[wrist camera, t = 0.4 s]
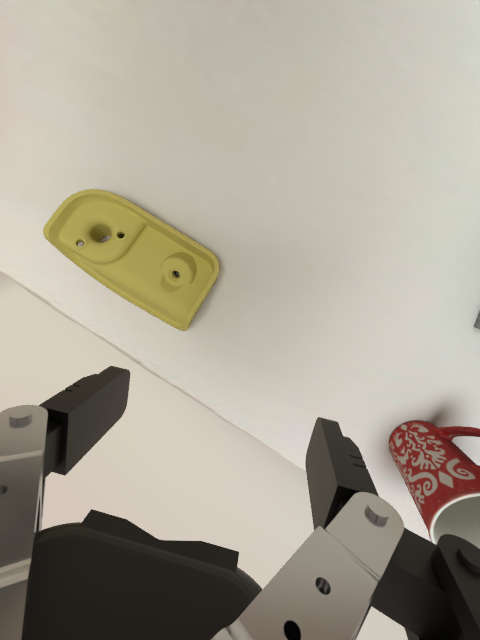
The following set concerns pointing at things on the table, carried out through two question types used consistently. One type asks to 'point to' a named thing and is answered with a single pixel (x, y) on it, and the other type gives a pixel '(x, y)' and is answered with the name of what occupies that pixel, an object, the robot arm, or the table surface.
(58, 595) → the robot arm
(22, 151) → the table surface
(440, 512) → the mug
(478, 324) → the jig
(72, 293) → the table surface
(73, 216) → the plastic component
